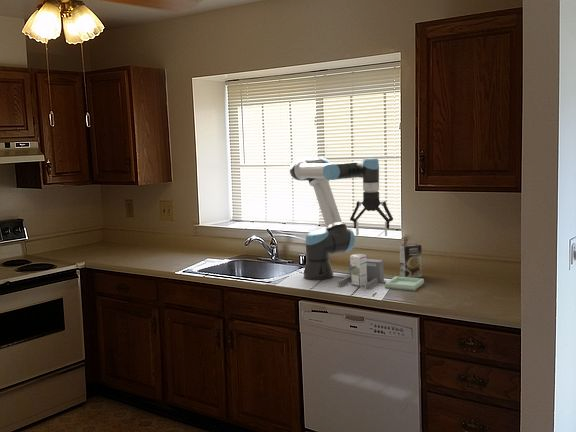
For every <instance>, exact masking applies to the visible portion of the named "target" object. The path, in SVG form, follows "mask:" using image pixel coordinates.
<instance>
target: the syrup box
mask: <svg viewBox="0 0 576 432" xmlns="http://www.w3.org/2000/svg"><path fill="white" fill-rule="evenodd" d="M366 259H367V254H362V253H354V254H351V255H350V256H349V260H350V266H351V281H350V283H351V285H352V286H357V287H362V286H366V283H368V281H367V266H366Z"/></svg>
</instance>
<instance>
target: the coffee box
mask: <svg viewBox="0 0 576 432" xmlns="http://www.w3.org/2000/svg"><path fill="white" fill-rule="evenodd" d="M422 252H423V251H422V245H421V244H419V243H407V244H406V243H405V244H400V245H399V277H408V278H422V277H423V268H422V267H423V266H422V265H423V263H422V258H423V257H422V256H423V255H422Z"/></svg>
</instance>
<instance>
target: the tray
mask: <svg viewBox="0 0 576 432" xmlns="http://www.w3.org/2000/svg"><path fill="white" fill-rule="evenodd" d="M424 284H425V279H424V278H421V277H417V278H408V277H401V276H394V277H393V278H391V279H389V280H388V281H386V282H385V283H384V288H385V289H392V290H403V291H412V292H413V291H414V292H416V290H417V289H419V288H420V287H421V286H422V285H424Z"/></svg>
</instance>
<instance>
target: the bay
mask: <svg viewBox="0 0 576 432" xmlns="http://www.w3.org/2000/svg"><path fill="white" fill-rule="evenodd" d="M348 262H349V263H348V265H349V266H348V267H349V275H348V276H346V277H344V278H342V279H340V280H338V282H337V283H338V287H340V288H342V287H344V285H347V284H348V283H351V266H350V259H349V260H348ZM384 263H385V261H384V260H383V259H373V258H366V266H367V283H366V285H365V290H370V289H372V287H375V286H376V285H378V284H379V283H382V282H383V281H384V280H385V271H384V269H385V265H384Z"/></svg>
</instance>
